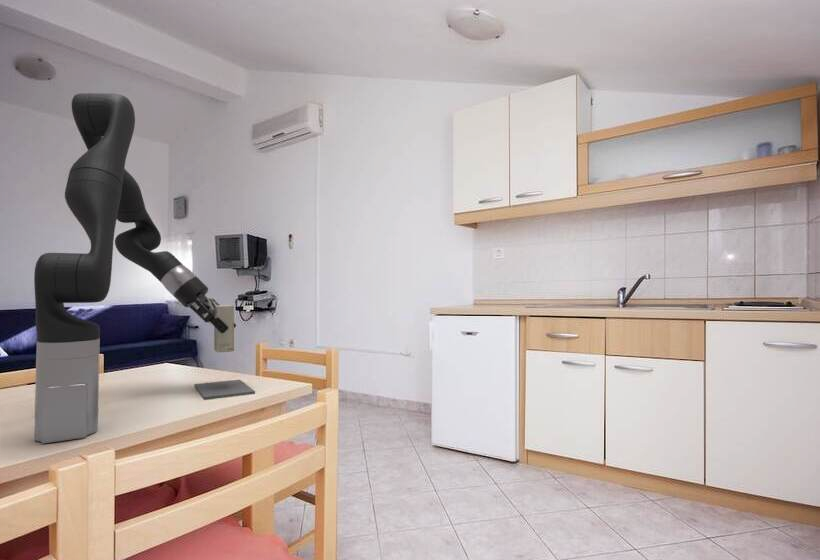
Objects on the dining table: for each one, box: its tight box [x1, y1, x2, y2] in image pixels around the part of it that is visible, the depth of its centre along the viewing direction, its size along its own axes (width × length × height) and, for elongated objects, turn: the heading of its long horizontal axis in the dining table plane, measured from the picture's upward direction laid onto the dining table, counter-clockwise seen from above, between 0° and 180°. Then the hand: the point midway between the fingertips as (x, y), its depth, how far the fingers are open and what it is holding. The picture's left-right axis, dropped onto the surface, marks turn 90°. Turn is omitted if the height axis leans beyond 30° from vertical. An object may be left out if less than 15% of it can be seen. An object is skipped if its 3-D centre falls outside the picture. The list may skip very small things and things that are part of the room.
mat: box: [193, 379, 256, 401], centre depth 118 cm, size 18×12×1 cm, turn 33°
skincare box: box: [213, 304, 235, 353], centre depth 118 cm, size 6×4×12 cm
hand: (229, 329), depth 118 cm, fingers closed on skincare box, 7 cm apart
